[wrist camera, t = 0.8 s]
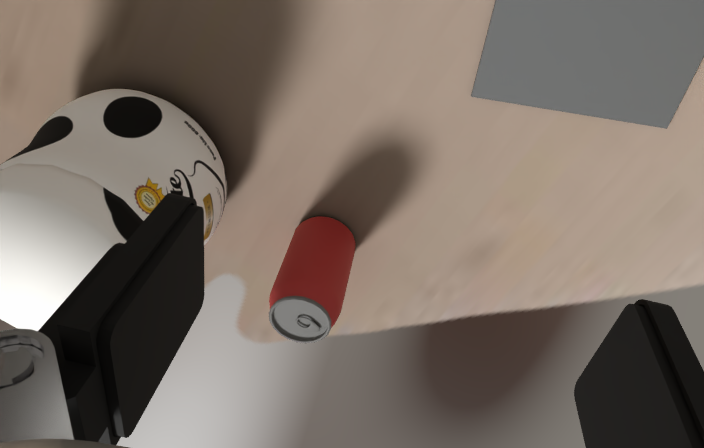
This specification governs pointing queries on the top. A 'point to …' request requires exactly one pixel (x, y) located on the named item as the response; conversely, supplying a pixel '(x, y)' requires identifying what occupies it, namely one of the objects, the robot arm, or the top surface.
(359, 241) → the top surface
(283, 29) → the top surface
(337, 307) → the beer can
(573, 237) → the top surface
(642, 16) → the mat
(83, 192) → the milk container
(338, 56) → the top surface
